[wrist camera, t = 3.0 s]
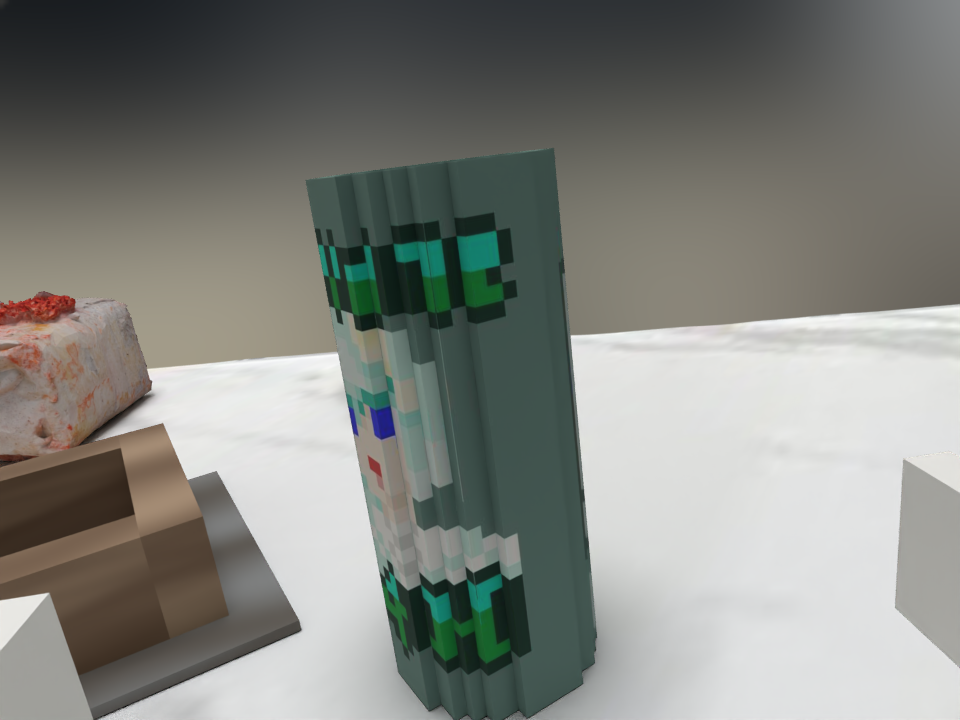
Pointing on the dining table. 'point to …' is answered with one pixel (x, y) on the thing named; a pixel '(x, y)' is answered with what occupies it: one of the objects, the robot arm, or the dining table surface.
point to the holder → (137, 565)
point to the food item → (64, 371)
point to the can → (465, 422)
